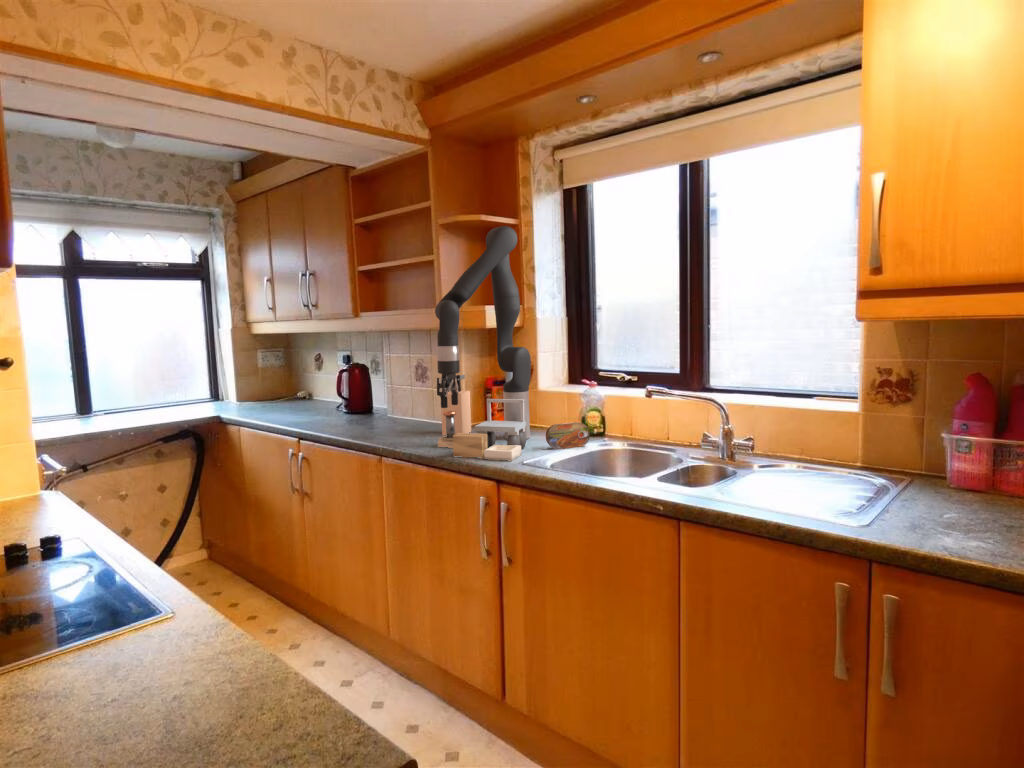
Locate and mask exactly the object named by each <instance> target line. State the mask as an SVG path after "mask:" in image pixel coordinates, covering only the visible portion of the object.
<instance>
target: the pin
mask: <svg viewBox="0 0 1024 768" xmlns="http://www.w3.org/2000/svg"><path fill="white" fill-rule="evenodd" d="M443 415H445V416H446V434H447V439H453V435H455V421H454V415H456V411H444V412H443Z"/></svg>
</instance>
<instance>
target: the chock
mask: <svg viewBox="0 0 1024 768" xmlns="http://www.w3.org/2000/svg"><path fill="white" fill-rule="evenodd" d="M487 448H488V444H487V434H477V433H474V432H473V433H472V432H470V433H457V434H455V435H453V448H452V449H453V451H452V452H453V457H454V456H462V457H461V458H467V457H481V458H480V459H484V458H485V456H484V450H486V449H487ZM483 457H484V458H483Z"/></svg>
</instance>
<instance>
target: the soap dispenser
mask: <svg viewBox="0 0 1024 768" xmlns="http://www.w3.org/2000/svg"><path fill="white" fill-rule="evenodd" d="M459 375H460V374H459ZM465 379H466V374H461V375H460V381H461V380H465ZM447 400H448V407H447V408H441V407H440V411H441V431H442V432H441V436H444V435H447V434H446V416H445V415H443V412H444V411H456V415H454V421H455V434H457V433H469V432H470V433H472V417H471V416H472V415H471V413H472V412H471V411H472V410H471V409H472V408H471V390H461V392H459V394H458V405H452V403H451V391H449V392H448V395H447Z"/></svg>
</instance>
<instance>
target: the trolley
mask: <svg viewBox="0 0 1024 768" xmlns="http://www.w3.org/2000/svg"><path fill="white" fill-rule="evenodd" d="M504 402H505V403H520V415H521V421H504V420H492V408H491V407H492V406H491V405H492V404H491V403H504ZM486 414H487V420H485V421H483V422H480V423H479V424H476V425H474V431H475V432H476V434H487V444H488V447H491V446H493V445H496V439H497V438H496V433H497V432H498V433H505V432H508V435H509V436H508V439H506V445H518V446H521V450H524V449H525V447H526V443H527V439H526V434H525V432H524V431H525V427H526V422H524V399H504V398H487V399H486Z"/></svg>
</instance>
